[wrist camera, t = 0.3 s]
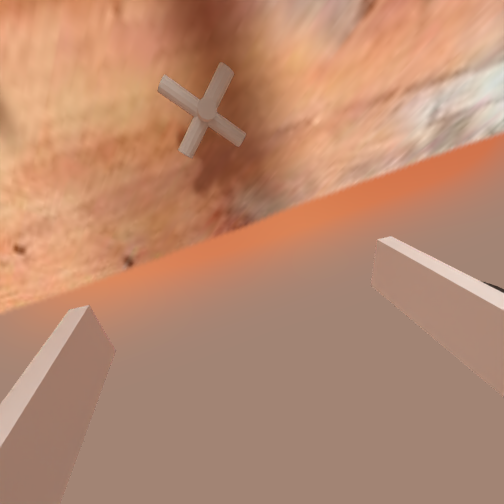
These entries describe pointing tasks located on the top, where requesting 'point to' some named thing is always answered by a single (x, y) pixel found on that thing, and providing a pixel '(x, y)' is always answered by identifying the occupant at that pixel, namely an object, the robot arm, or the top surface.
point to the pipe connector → (203, 110)
